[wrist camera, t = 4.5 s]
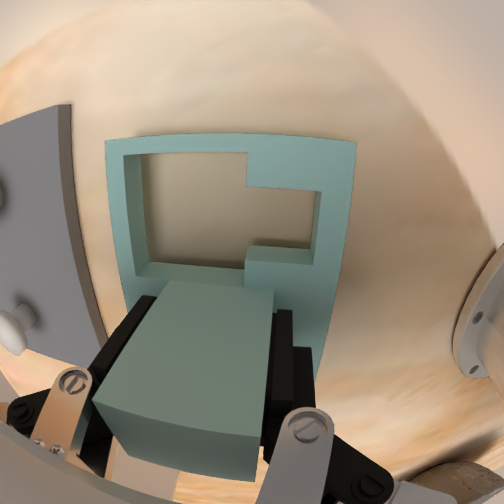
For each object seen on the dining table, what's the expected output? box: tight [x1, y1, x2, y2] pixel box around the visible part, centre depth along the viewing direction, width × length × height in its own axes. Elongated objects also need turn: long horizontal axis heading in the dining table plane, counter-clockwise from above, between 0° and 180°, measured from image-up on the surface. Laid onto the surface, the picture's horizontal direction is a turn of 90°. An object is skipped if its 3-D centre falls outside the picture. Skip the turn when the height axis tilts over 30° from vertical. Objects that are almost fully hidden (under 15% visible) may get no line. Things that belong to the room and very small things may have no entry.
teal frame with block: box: [92, 133, 357, 482], centre depth 9 cm, size 9×14×7 cm, turn 178°
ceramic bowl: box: [410, 461, 504, 504], centre depth 22 cm, size 22×23×10 cm
